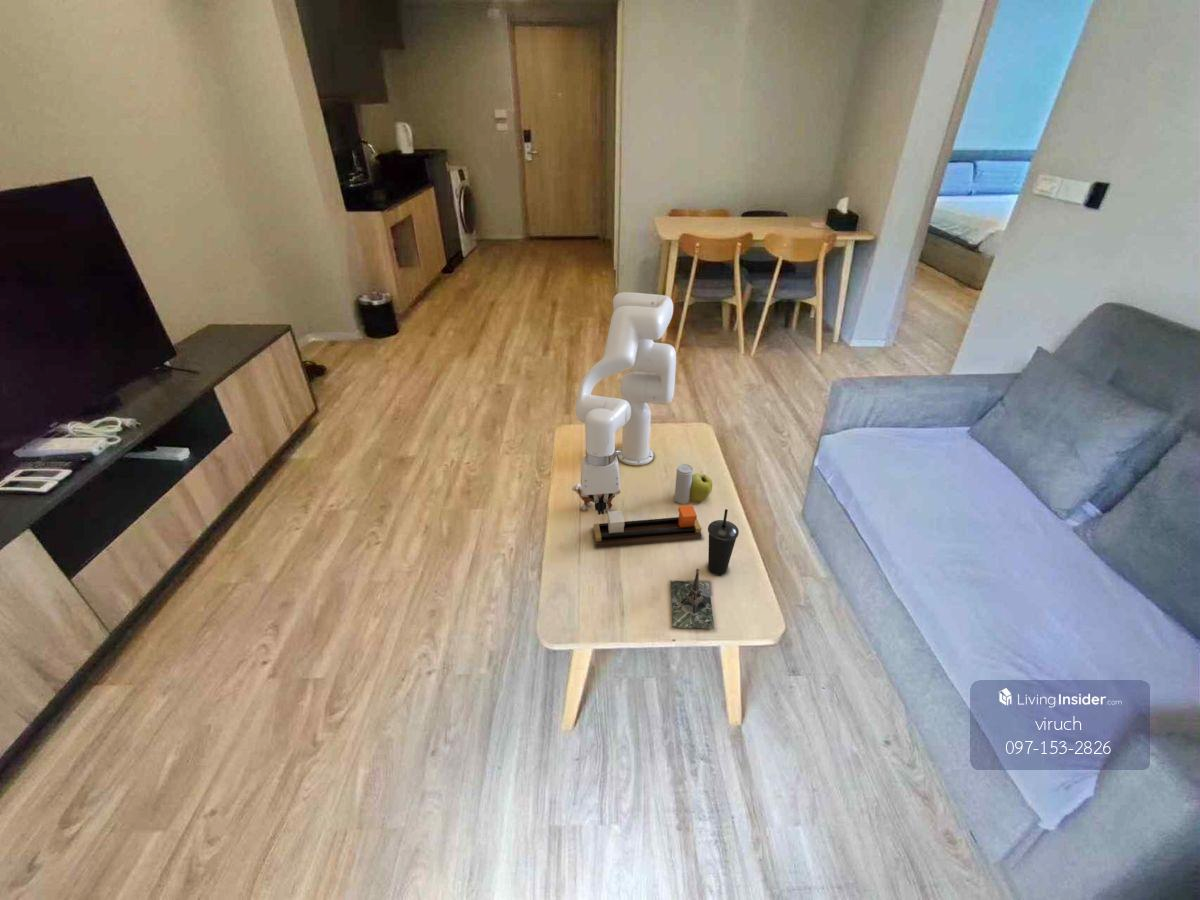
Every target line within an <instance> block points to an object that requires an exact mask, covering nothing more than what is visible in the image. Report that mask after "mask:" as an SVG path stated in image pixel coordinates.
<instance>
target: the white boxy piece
mask: <svg viewBox="0 0 1200 900" xmlns="http://www.w3.org/2000/svg"><path fill="white" fill-rule="evenodd" d="M624 522H625V518H624V514H623V510H611V511H609V512H607V523H608V531H609V534H611V533H623V532H624Z"/></svg>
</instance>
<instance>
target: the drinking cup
mask: <svg viewBox="0 0 1200 900" xmlns="http://www.w3.org/2000/svg"><path fill="white" fill-rule="evenodd" d="M728 510H729V509H727V508H725V509H724V513H723V519H717V520H713V521H712V522H710V523H709V524H708V526H707V532H708V557H707V558H708V560H707V563H708V565H707V567H708V568H707V569H708V571H709V572H710V573H711V574H713V575H715V576H723V575H725V574H726V573H727V571H728V567H729V564H730V560H731V558H732V557H731V556H732V554H733V551H734V547H735V545H736V540H737V538H738V537H739V534H740V531H739V527H737V525H736V524H735V523H733V522H731V521H729V520H727V518H728V517H727V516H728V512H729V511H728Z"/></svg>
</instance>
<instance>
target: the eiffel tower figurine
mask: <svg viewBox="0 0 1200 900" xmlns="http://www.w3.org/2000/svg"><path fill="white" fill-rule="evenodd" d="M699 575H700V568H696V570H695V577H694V581H687V580H672V579H670V600H671V625H672V627H671V628H685V629H686V628H688V629H715V622H714V613H713V607H712V606H713V605H712V598H711V590H710V589H711V588H710V583H709V582H702V581H700V582H699V577H700V576H699Z"/></svg>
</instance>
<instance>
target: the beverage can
mask: <svg viewBox="0 0 1200 900" xmlns="http://www.w3.org/2000/svg"><path fill="white" fill-rule="evenodd" d="M675 474H676V475H675V485H674V486H675V487H674V498H673V499H674V501H675V502H676V503H678V504H681V505H685V504H688V503H689V502H690V500H691V499H690V489H691V484H692V475H694V470H693V467H692V466H691V465H689V464H687V463H686V464H685V463H684V464H683V463H682V464H679V465H678V466H677V469H676V473H675Z"/></svg>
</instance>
